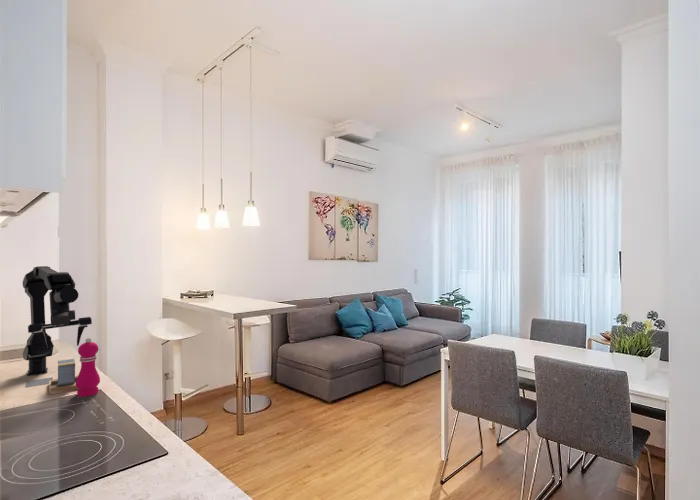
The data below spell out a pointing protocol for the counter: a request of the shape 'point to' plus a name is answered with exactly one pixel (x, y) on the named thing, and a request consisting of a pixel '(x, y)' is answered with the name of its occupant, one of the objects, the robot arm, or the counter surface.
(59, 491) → the counter surface
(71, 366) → the tin
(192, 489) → the counter surface
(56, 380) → the beige shallow tray
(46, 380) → the mat
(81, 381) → the pepper mill
